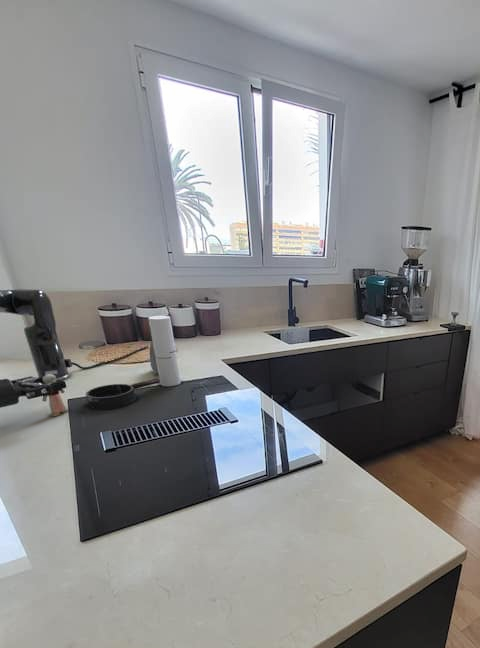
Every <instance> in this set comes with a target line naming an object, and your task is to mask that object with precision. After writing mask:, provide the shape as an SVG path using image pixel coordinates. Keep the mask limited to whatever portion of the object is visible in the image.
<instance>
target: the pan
mask: <svg viewBox="0 0 480 648" xmlns="http://www.w3.org/2000/svg"><path fill="white" fill-rule="evenodd" d="M130 385H131V384H126V383H114V384H113V383H112V384H106V385H101V386H96V387H94V388H91V389H89V390H88V391H86V392H85V398H86V400H87V404H88V406H89V408H90V409H93V410H112V409H117V408H122V407H125V406H128V405H130V404H133V403H134V402H135V401H136V393H135V389H134V388H133V386H130ZM129 386H130V389H129Z"/></svg>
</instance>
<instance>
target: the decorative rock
mask: <svg viewBox="0 0 480 648" xmlns="http://www.w3.org/2000/svg"><path fill="white" fill-rule="evenodd" d="M148 349H149V361H150V367H151V370H152V371H153V373H155V375H156V376H159V373H158V368H157V362H156V357H155V352H154V346H153V341H152V340H151V341H150V345H149V348H148Z"/></svg>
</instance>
